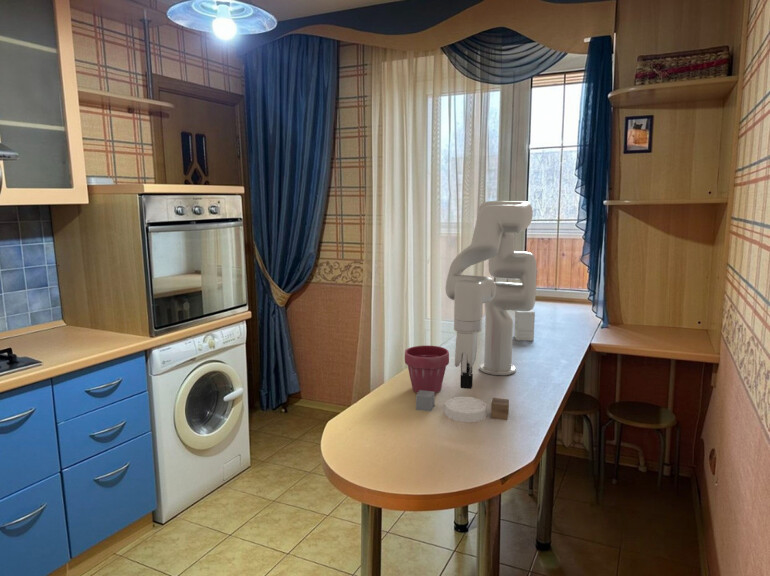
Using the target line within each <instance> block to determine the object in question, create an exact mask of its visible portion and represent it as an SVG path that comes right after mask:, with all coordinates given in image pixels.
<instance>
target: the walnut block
mask: <svg viewBox="0 0 770 576" xmlns="http://www.w3.org/2000/svg"><path fill="white" fill-rule="evenodd" d="M509 407H510V399H509V398H500V397H499V398H498V397H492V400H491V404H490V419H492V420H499V421H500V420H501V421H508V417H509V413H510V412H509V411H510V409H509Z"/></svg>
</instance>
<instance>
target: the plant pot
mask: <svg viewBox="0 0 770 576" xmlns="http://www.w3.org/2000/svg"><path fill="white" fill-rule="evenodd" d="M404 363H405V365H406V366H407V368H408V374H409V379H410V383H411V387H412V391H413V392H415V393H416V394H417V393H418V392H419V390H424V391H433V392H435V393H434V394H437V393H440V392H441V390H442V386H443V382H444V377H445V372H446V368H447V366H448V365H449V364H450V352H449V349H447V348H444V347H442V346H439V345H416V346H412V347H408V348H406V349H405V350H404Z"/></svg>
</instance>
